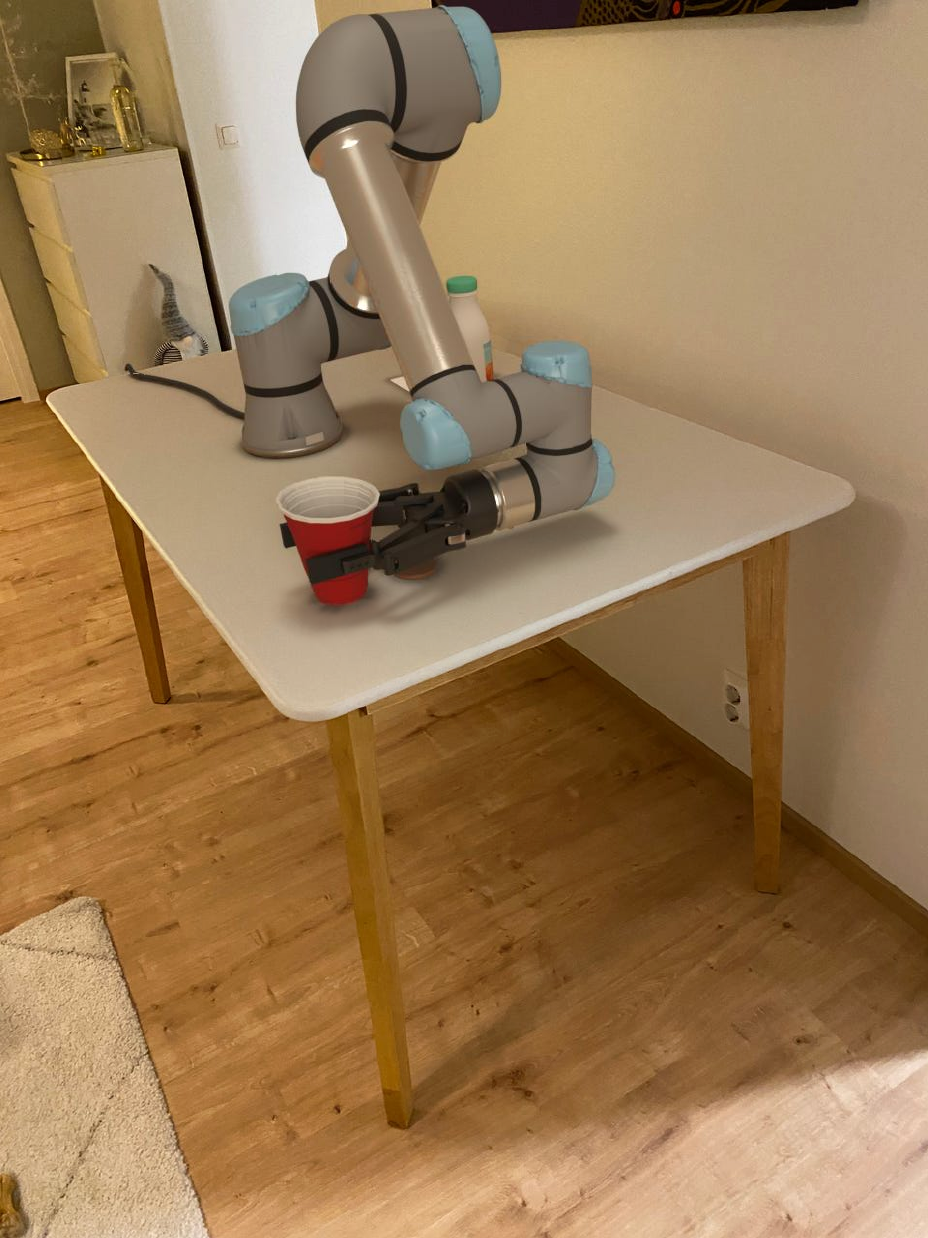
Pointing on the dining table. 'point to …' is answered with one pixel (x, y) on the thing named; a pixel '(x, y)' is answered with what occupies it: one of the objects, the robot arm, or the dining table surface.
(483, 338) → the milk bottle
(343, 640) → the dining table surface
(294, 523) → the plastic cup
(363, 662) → the dining table surface
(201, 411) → the dining table surface
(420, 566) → the brown round coaster
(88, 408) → the dining table surface
